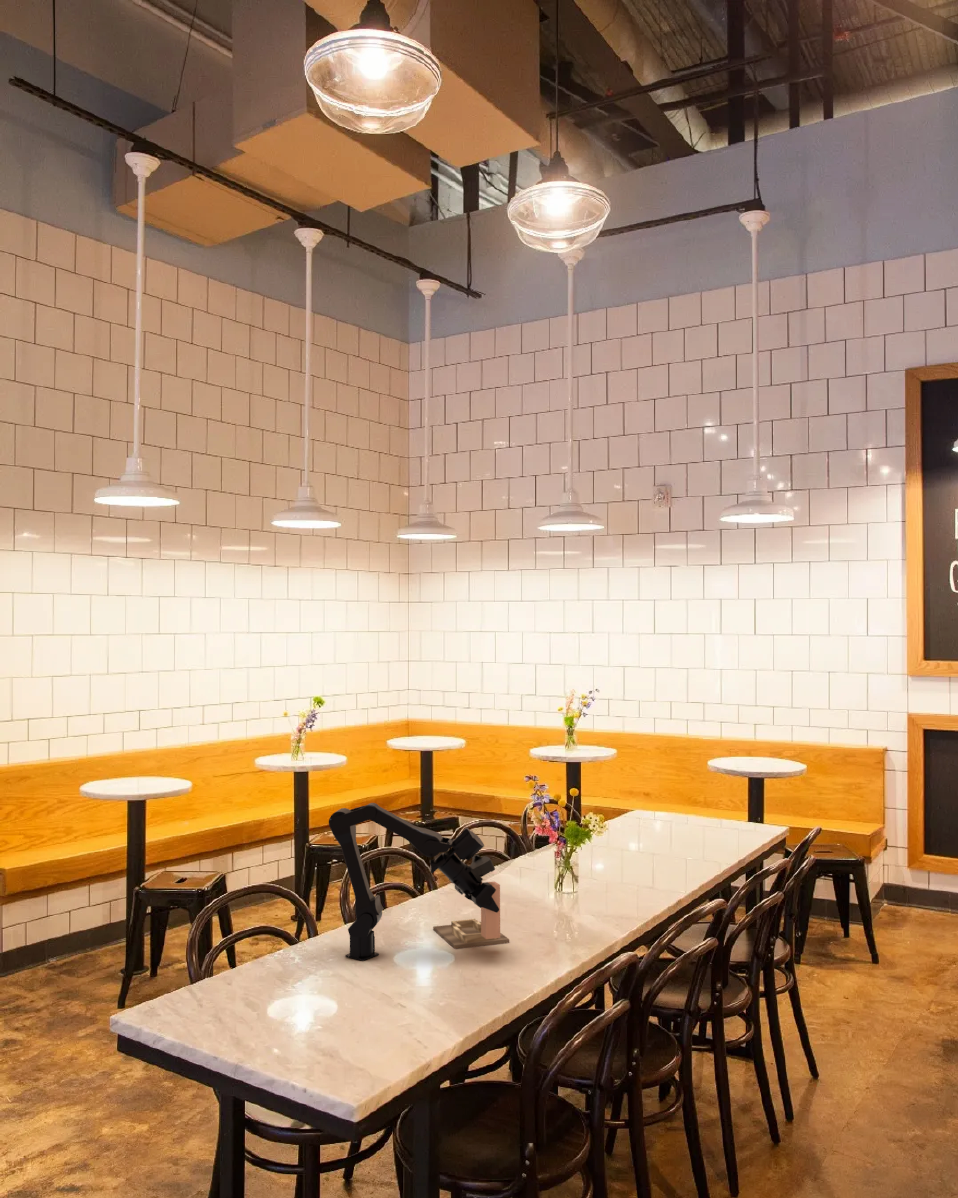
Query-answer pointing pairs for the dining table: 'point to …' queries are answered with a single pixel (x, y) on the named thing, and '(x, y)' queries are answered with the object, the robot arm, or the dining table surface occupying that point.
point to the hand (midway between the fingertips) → (495, 909)
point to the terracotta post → (491, 917)
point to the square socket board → (466, 934)
